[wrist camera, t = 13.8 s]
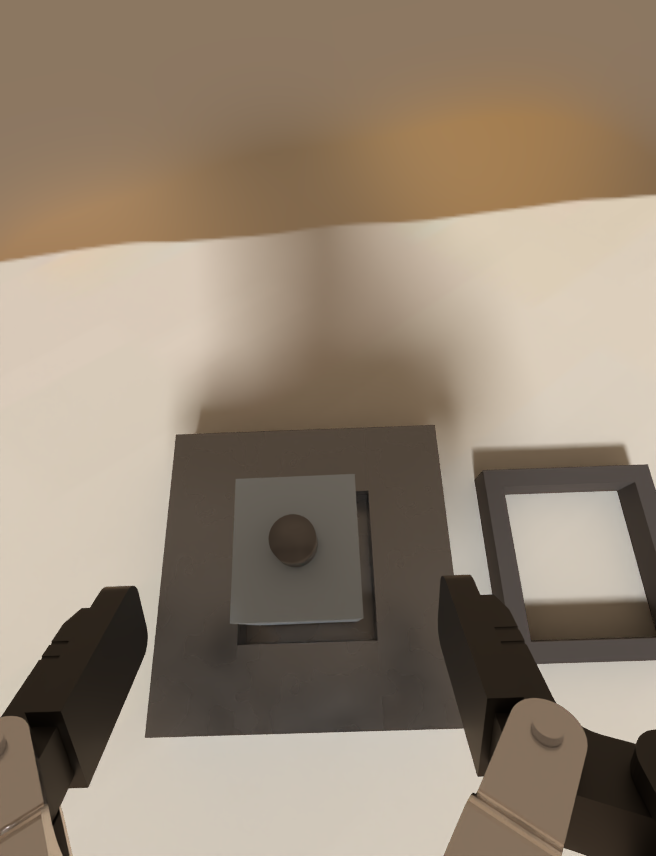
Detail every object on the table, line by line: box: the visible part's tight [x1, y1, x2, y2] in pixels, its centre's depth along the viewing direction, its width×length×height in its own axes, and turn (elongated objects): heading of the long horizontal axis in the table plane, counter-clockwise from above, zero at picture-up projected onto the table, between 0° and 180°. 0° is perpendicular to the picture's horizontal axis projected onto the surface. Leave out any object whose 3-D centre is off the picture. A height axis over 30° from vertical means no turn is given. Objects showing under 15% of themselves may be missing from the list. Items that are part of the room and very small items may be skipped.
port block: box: [145, 425, 464, 738], centre depth 21 cm, size 12×12×2 cm
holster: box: [475, 464, 656, 664], centre depth 21 cm, size 8×8×2 cm
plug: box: [230, 474, 363, 625], centre depth 18 cm, size 4×4×8 cm
